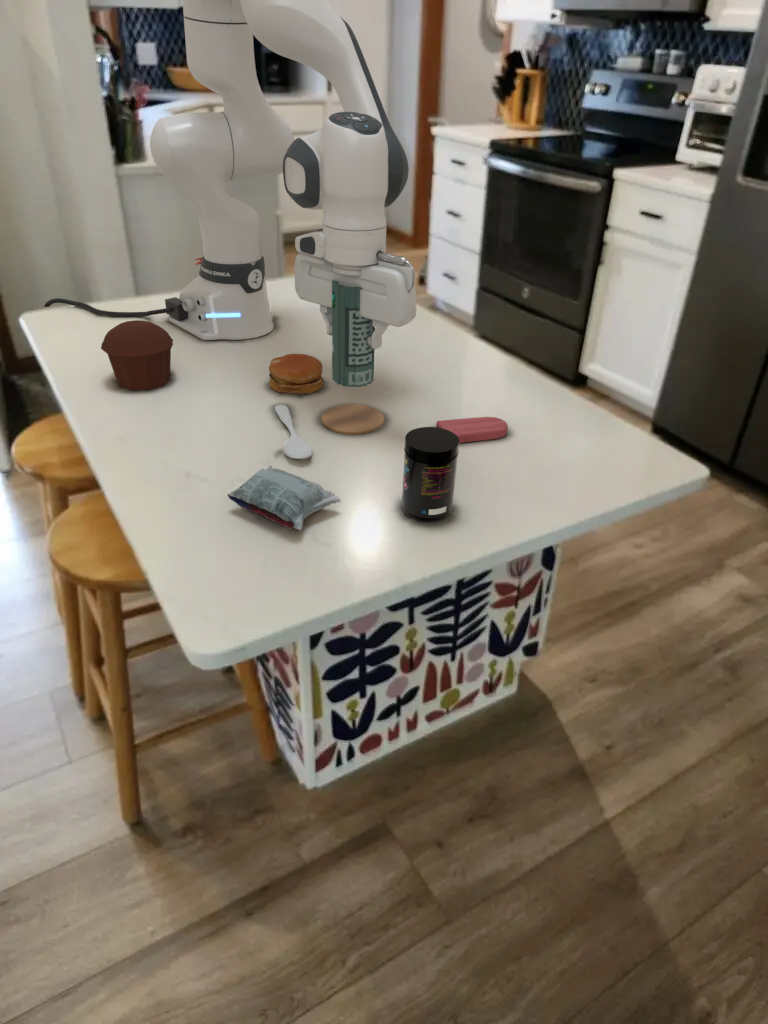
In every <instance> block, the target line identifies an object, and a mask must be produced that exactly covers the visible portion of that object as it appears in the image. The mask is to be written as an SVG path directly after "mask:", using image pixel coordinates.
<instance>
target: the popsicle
mask: <svg viewBox="0 0 768 1024" xmlns="http://www.w3.org/2000/svg"><path fill="white" fill-rule="evenodd" d="M435 427H437V428H442V429H446V430H449V431H451V432H453V433H454V434H456V435H457V437H458V438H459V444H461V443H471V442H479V441H480V442H481V441H488V440H496V439H497V440H498V439H501V438H503V437H505V436H506V435H507V433H508V428H509V426H508V422H507V421H505V420H504V419H502V418H499V417H496V416H481V417H480V416H479V417H467V418H465V417H464V418H454V419H441V420H436V425H435Z"/></svg>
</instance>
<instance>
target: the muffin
mask: <svg viewBox="0 0 768 1024" xmlns="http://www.w3.org/2000/svg"><path fill="white" fill-rule="evenodd" d="M173 345H174V338H173V337H172V336H171V335H170V333H169V332H168V331H167V330H166V329H164V328H163V327H161V326H160V325H158V324H156V323H154V322H152V321H149V320H148V321H147V320H142V319H141V320H139V319H137V320H136V319H135V320H127V321H123V322H120V323H119V324H117V325H115V326H114V327H112V328H110V329H109V330H108V331H107V332H106V334H105V336H104V337H103V340H102V342H101V345H100V350H102V351H103V352H104V353H106V355H107V357H108V361H109V362H110V366H111V369H112V371H113V374H114V378H115V379H116V382H117V384H118V386H119V388H123V389H127V390H130V391H151V390H153V389H157V388H160V387H164V386H165V385H166V384H167V383H168V382H169V381H170V380H171V364H172V363H171V356H172V348H173Z"/></svg>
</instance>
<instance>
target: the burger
mask: <svg viewBox="0 0 768 1024" xmlns="http://www.w3.org/2000/svg"><path fill="white" fill-rule="evenodd" d="M268 371H269V374H268V375H269V382H268V384H269V387H270V389H271V390H273V391H275V392H277V393H281V394H282V393H283V394H289V393H291V394H296V395H300V394H301V395H302V394H312V393H314V392H317V391H319V390H321V388H323V385H324V378H323V376H322V374H323V363H322V361H320V360H319V359H318V358H316V357H315V356H314V355H313V356H312V355H309V354H304V353H288V354H284V355H281V356H278V357H274V358H272V359H271V361H270V364H269V366H268Z"/></svg>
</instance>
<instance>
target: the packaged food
mask: <svg viewBox="0 0 768 1024" xmlns="http://www.w3.org/2000/svg"><path fill="white" fill-rule="evenodd" d="M227 497H228V498H229V499H230V501H232V502H234V503H235V504H237V506H239V507H240V508H242V509H244V510H247V511H249V512H252V513H254V514H257V515H260V516H262V517H265V518H266V519H267V520H270V521H273V522H274V523H277V524H278V525H280V526H282V527H284V528H287V529H290V530H292V529H296V530H299V532H300V531H302V530H303V527H304V521H305V520H306V519H307V518H308V517H309V516H312V515H313V514H315V513H316V512H317V511H319V510H322V509H323V508H326V507H329V506H330V505H332V504H336V503H337V504H338V503H340V502H341V498H340V497H339V496H338V495H336V494H335V493H334V492H332V491H331V490H327V489H324V488H323V487H322V485H320V484H319V483H318V482H313V481H310V480H307V479H305V478H303V477H301V476H298V475H296V474H294V473H290V472H287V471H285V470H283V469H280V468H276V467H273V466H272V464H270V465H269V466H268V467H267V468H266V469H265V468H261V469H260V470H258V471H257V472H255V473H254V474H253V475H252V476H251V477H250V478H248V479H247V480H246V481H245V482H244V483H243V484H241V485H240V486H239V487H238V488H236V489H235V490H232V491H231V492H229V493H228V494H227Z"/></svg>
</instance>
